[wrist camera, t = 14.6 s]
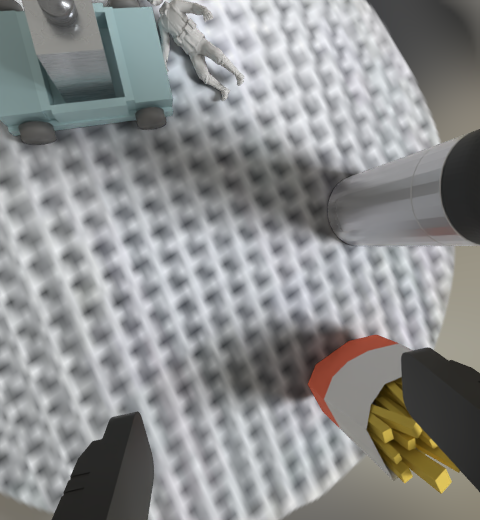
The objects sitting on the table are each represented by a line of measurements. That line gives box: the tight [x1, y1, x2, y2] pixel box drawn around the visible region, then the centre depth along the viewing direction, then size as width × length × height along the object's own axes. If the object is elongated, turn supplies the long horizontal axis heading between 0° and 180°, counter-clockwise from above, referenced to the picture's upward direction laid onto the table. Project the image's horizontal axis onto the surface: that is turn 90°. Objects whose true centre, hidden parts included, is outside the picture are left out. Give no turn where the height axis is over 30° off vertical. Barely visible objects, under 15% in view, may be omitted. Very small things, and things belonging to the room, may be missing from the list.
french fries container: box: [308, 335, 460, 494], centre depth 35 cm, size 5×11×18 cm, turn 120°
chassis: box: [0, 0, 173, 145], centre depth 33 cm, size 16×12×4 cm
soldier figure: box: [147, 0, 244, 101], centre depth 35 cm, size 8×5×12 cm
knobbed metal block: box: [22, 0, 116, 103], centre depth 28 cm, size 5×6×11 cm
